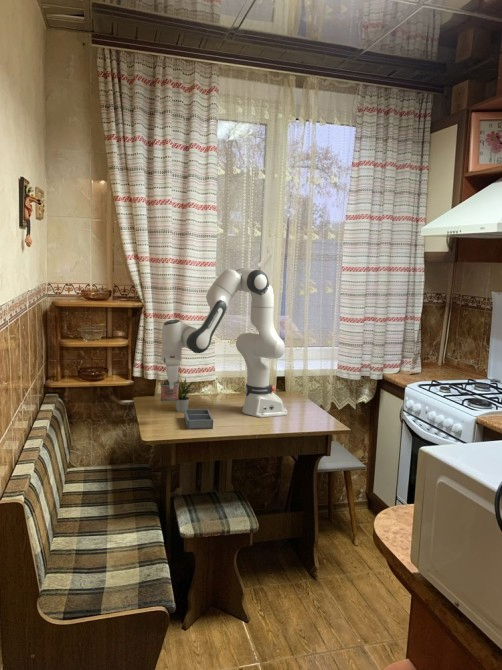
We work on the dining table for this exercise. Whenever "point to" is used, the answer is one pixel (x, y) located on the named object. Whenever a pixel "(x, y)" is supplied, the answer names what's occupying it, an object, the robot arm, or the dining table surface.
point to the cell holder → (198, 419)
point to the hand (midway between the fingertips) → (170, 386)
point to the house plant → (183, 396)
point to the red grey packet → (169, 392)
